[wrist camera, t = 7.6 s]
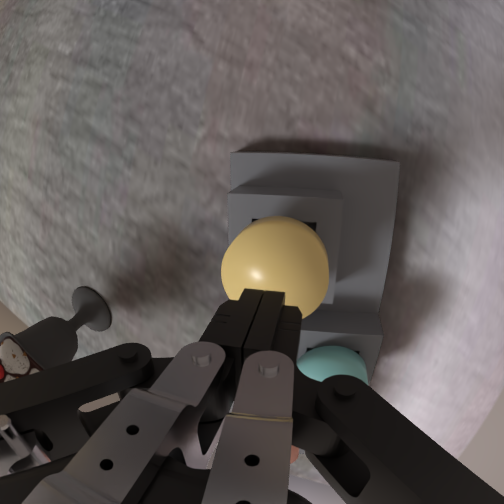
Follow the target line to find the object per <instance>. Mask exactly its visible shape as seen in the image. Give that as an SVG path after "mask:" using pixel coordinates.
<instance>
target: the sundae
mask: <svg viewBox="0 0 504 504" xmlns="http://www.w3.org/2000/svg"><path fill="white" fill-rule="evenodd" d="M72 305H73V308H74V311H75V313H76V315H75V316H74V317H73V318H72V319H70V320H69V321H65V320H64V319H62V318H58V317H52V316H51V317H49V318H46V319H44V320H42V321H40V322H38V323H36V324H34V325H33V326H31V327H29V328H28V329H26V330H24V331H22V332H20V333H18V334H16V335H13V334H11V333H10V332H5V333H3V334H1V335H0V383H3V382H6V381H9V380H13V379H16V378H20V377H23V376H26V375H30V374H33V373H36V372H39V371H43V370H46V369H49V368H52V367H55V366H58V365H62V364H65V363H68V362H71V361H72V359H73V357H74V355H75V353H76V352H77V349H78V339H77V334H76V331H77V330H78V329H79V328H80V327H81V326H82V325H84V324H85V325H86V326H87V327H89V328H90V329H92V330H95V331H104V330H106V329H108V327H109V325H110V321H111V319H110V313H109V310H108V307H107V305H106V304H105V302H104V301H103V299H102V298H101V297H100V296H99V295H98V294H97V293H96V292H94V291H93V290H91V289H88V288H86V287H79V288H77V289H76V290H75V291H74V293H73V296H72Z"/></svg>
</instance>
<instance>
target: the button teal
mask: <svg viewBox="0 0 504 504" xmlns="http://www.w3.org/2000/svg"><path fill="white" fill-rule="evenodd" d="M297 366H298V368H299V370H300V371H301V372H302V373H303V374H305V375H306V376H308V377H309V378H312V379H314V380H317V381H320V382H322V381H323V380H324V379H326V378H328V377H330V376H333V375H340V374H344V375H351V376H354V377H357V378H359V379H361V380H362V381H363V382H365V383H366V384H367V385H368V378H367V370H366V365H365V362H364V360H363V359H362V357H361V356H360V355H359V354H358V353H356V352H355V351H353V350H351V349H348V348H346V347H341V346H322V347H318V348H313V349H312V350H310V351H308V352H306V353H305V354H303V355H302V356H301V357H300V358H299V359H298V360H297Z"/></svg>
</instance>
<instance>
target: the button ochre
mask: <svg viewBox="0 0 504 504" xmlns="http://www.w3.org/2000/svg"><path fill="white" fill-rule="evenodd" d="M221 277H222V283H223V286H224V289H225V291H226V293H227V295H228V297H229V299H230V300H239V298H240V296H241V294H242V292H243V290H244V288H249V289H259V290H264V291H265V290H270V291H280V292H285V305H288V306H298V308H299V309H300V311H301V313H302V314H303V315H302V319H303V318H305V317H307V316H308V315H310V314H311V313H312V312H314V311H315V310H316V309H317V308H318V306H319V305H320V304H321V302H322V301H323V299H324V297H325V295H326V292H327V289H328V284H329V266H328V255H327V252H326V248H325V246H324V244H323V242H322V240H321V239H320V237H319V236H318V235H317V234H316V232H315V231H313V230H312V229H311V228H310V227H309V226H307V225H306V224H304V223H303V222H301V221H299V220H296V219H293V218H290V217H284V216H270V217H264V218H261V219H258V220H256V221H254V222H252V223H250V224H249V225H248V226H246V227H245V228H244V229H243V230H242V231H241V232H240V233H239V234H238V236H237V237H236V238H235V240H234V241H233V242H232V243H231V245H230V246H229V248H228V249H227V251H226V253H225V255H224V258H223V261H222V267H221Z"/></svg>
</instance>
